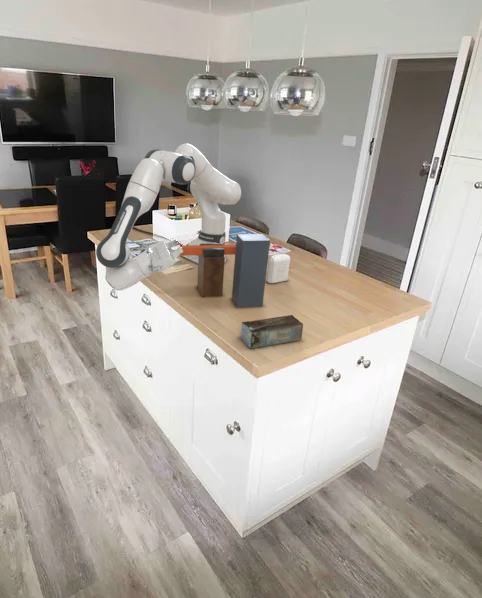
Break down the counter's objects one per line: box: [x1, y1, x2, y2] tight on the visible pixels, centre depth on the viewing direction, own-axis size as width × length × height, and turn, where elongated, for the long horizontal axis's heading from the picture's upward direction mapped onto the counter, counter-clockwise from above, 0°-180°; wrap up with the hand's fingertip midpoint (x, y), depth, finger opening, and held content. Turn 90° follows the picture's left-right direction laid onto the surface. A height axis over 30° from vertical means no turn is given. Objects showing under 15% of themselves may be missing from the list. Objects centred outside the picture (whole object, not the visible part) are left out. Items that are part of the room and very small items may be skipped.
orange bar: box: [179, 244, 236, 257], centre depth 160 cm, size 24×3×3 cm, turn 105°
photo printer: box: [265, 253, 291, 284], centre depth 181 cm, size 10×4×12 cm, turn 123°
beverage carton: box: [240, 314, 304, 349], centre depth 135 cm, size 8×19×7 cm, turn 112°
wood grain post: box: [196, 243, 226, 298], centre depth 164 cm, size 8×10×19 cm
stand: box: [231, 233, 271, 309], centre depth 155 cm, size 10×8×26 cm
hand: (180, 245), depth 156 cm, fingers open, 8 cm apart
